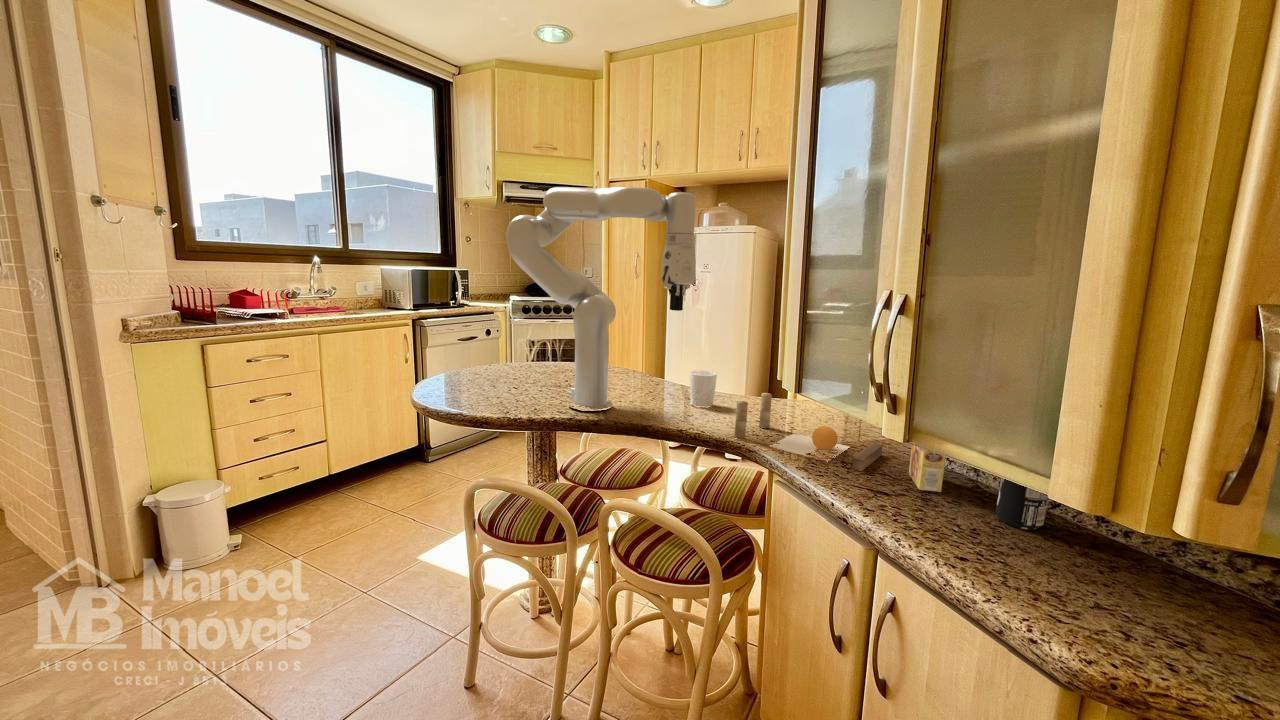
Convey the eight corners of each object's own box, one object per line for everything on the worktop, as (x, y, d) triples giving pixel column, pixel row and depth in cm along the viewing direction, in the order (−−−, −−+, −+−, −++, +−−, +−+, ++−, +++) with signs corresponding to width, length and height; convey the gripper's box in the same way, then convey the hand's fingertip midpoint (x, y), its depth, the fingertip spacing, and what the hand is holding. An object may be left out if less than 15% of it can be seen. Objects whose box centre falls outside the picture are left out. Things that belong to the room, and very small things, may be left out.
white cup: (684, 402, 159) (686, 370, 158) (708, 401, 162) (710, 370, 160) (694, 409, 152) (696, 376, 150) (719, 408, 154) (721, 375, 153)
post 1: (732, 438, 127) (734, 402, 125) (737, 435, 129) (740, 400, 127) (741, 440, 125) (744, 404, 124) (747, 438, 127) (749, 402, 126)
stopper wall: (851, 469, 109) (852, 457, 109) (872, 452, 120) (873, 442, 120) (861, 471, 108) (862, 460, 108) (881, 455, 119) (882, 444, 118)
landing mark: (768, 446, 121) (768, 446, 121) (794, 434, 132) (794, 433, 132) (828, 462, 113) (828, 461, 113) (850, 447, 123) (850, 446, 123)
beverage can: (997, 509, 93) (1007, 445, 91) (1043, 521, 89) (1055, 454, 87) (992, 522, 88) (1004, 454, 86) (1041, 535, 84) (1054, 464, 81)
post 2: (757, 427, 136) (759, 394, 135) (761, 425, 138) (764, 392, 137) (766, 429, 135) (769, 395, 133) (770, 427, 137) (773, 394, 135)
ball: (811, 453, 120) (805, 430, 120) (820, 448, 124) (815, 425, 124) (834, 452, 116) (829, 427, 117) (843, 446, 121) (838, 422, 121)
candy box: (942, 493, 99) (953, 415, 96) (917, 490, 100) (928, 413, 97) (928, 476, 107) (939, 403, 105) (906, 473, 108) (915, 401, 106)
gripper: (674, 239, 131) (670, 312, 134) (706, 243, 142) (702, 310, 145) (650, 239, 135) (648, 310, 139) (684, 243, 147) (681, 308, 150)
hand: (676, 310), depth 142 cm, fingers closed
